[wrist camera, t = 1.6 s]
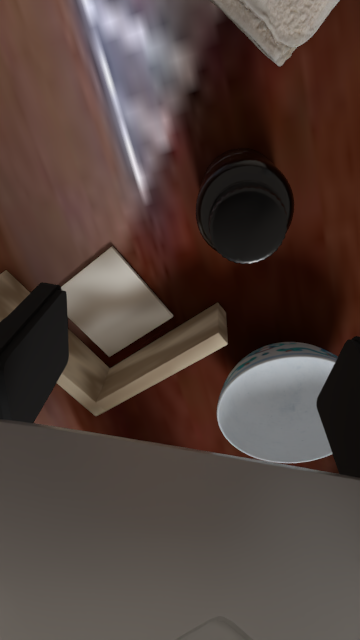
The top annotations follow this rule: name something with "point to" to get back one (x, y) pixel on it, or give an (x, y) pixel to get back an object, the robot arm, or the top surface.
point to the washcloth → (277, 22)
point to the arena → (121, 332)
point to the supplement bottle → (244, 206)
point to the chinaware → (277, 403)
